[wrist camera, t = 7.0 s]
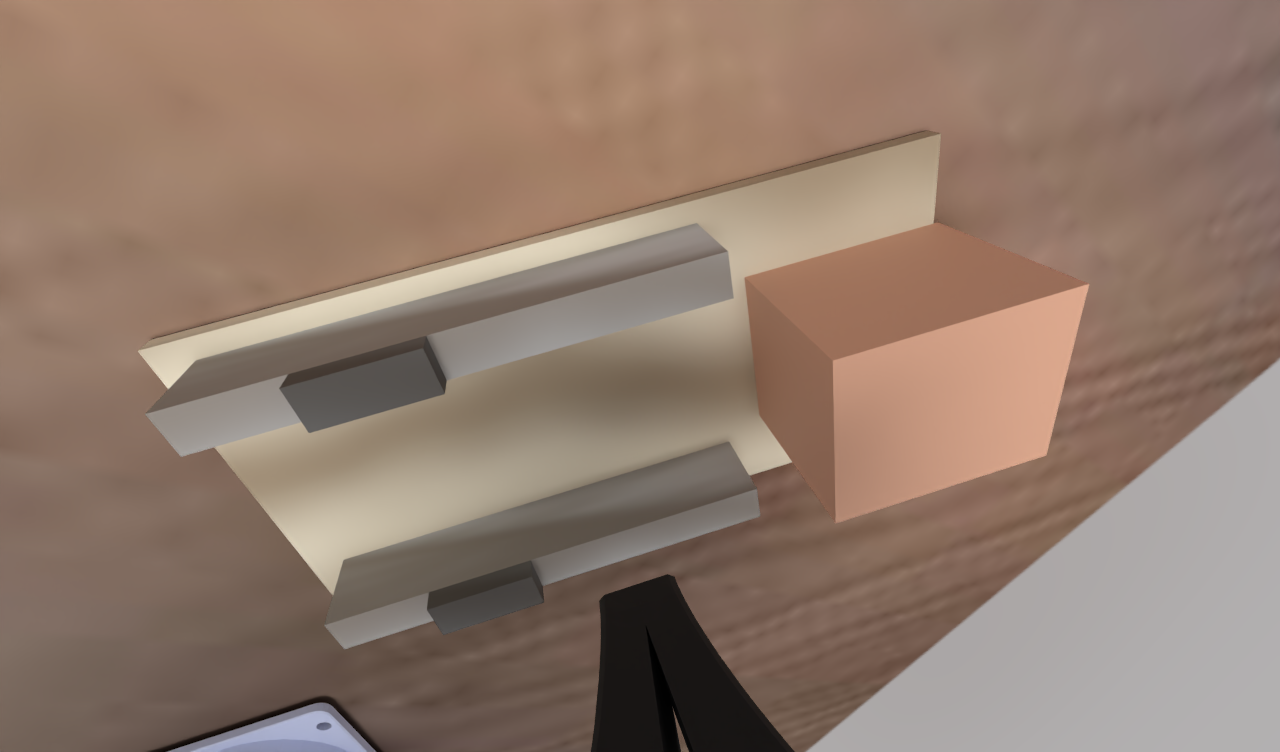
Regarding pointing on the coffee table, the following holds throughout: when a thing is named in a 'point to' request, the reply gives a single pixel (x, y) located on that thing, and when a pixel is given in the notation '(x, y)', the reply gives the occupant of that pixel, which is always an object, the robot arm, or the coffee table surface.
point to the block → (910, 363)
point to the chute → (523, 394)
